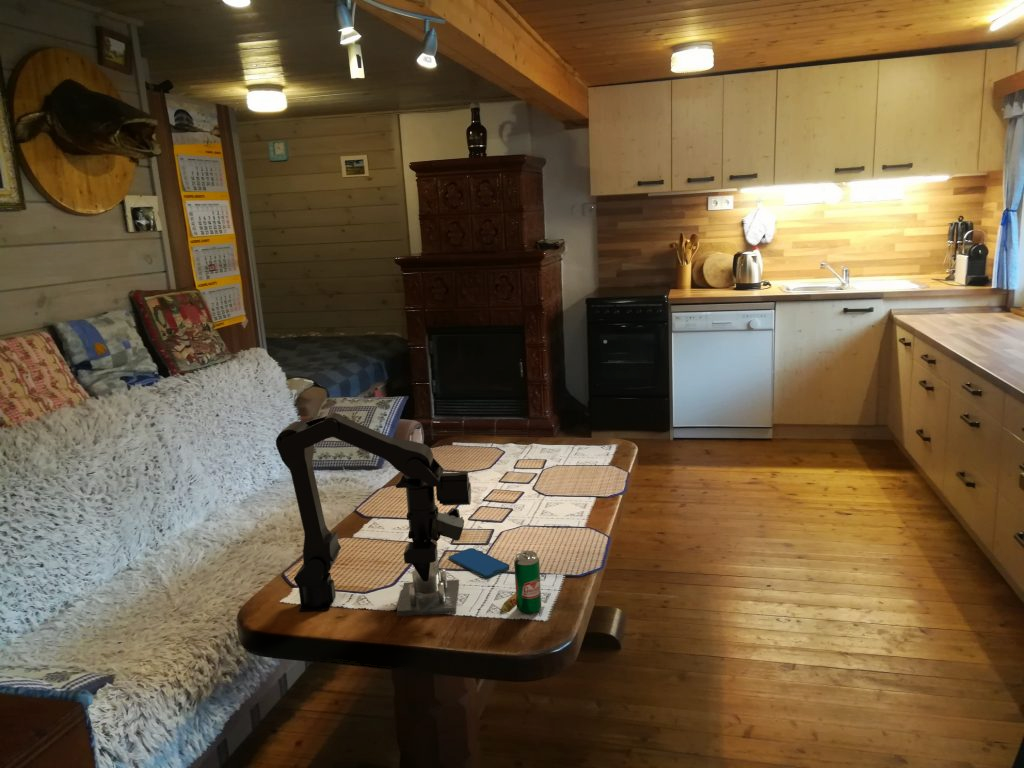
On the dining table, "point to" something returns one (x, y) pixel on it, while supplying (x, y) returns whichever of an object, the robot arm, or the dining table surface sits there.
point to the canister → (433, 581)
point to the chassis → (429, 598)
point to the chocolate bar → (509, 604)
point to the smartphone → (479, 563)
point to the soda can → (527, 582)
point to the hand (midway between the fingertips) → (427, 575)
